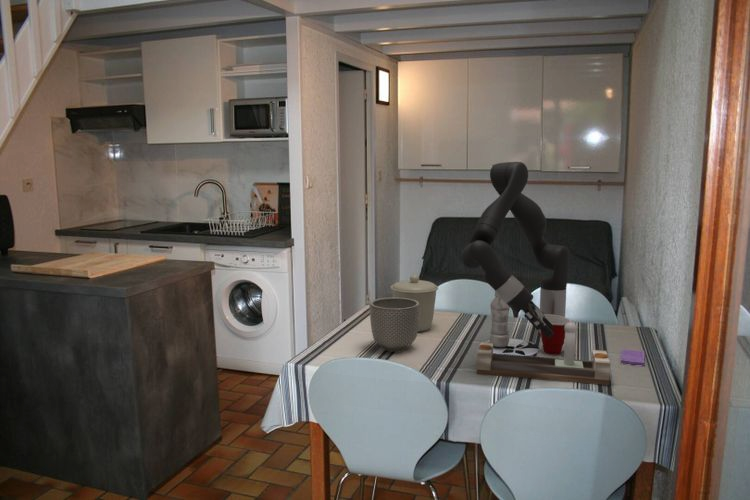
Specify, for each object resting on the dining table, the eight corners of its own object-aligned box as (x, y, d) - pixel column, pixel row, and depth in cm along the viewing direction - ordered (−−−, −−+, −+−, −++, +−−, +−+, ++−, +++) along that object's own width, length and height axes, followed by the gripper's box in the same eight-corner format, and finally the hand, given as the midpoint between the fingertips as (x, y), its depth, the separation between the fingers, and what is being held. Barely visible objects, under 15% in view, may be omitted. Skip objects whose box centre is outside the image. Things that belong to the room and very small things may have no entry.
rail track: (480, 361, 199) (480, 340, 198) (604, 371, 190) (606, 349, 189) (476, 373, 188) (477, 351, 187) (609, 385, 178) (610, 361, 177)
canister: (445, 326, 239) (446, 273, 236) (423, 338, 224) (424, 281, 221) (405, 320, 249) (405, 268, 246) (381, 330, 234) (381, 276, 231)
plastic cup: (564, 359, 200) (566, 323, 198) (532, 354, 206) (533, 319, 204) (573, 350, 209) (575, 316, 208) (542, 345, 215) (543, 312, 213)
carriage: (554, 364, 190) (556, 319, 188) (581, 366, 188) (584, 320, 186) (555, 371, 184) (557, 324, 182) (583, 374, 182) (585, 326, 180)
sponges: (620, 365, 196) (620, 359, 196) (621, 353, 208) (621, 348, 207) (644, 368, 194) (644, 362, 193) (644, 356, 205) (644, 350, 205)
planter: (382, 338, 225) (382, 295, 222) (427, 344, 217) (427, 300, 215) (361, 351, 209) (360, 305, 207) (407, 358, 202) (408, 311, 199)
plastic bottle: (509, 350, 210) (510, 292, 207) (489, 348, 212) (490, 292, 209) (508, 344, 217) (510, 288, 213) (489, 343, 218) (490, 288, 215)
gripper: (522, 290, 179) (562, 331, 178) (523, 280, 193) (560, 318, 192) (503, 307, 181) (542, 347, 180) (506, 296, 195) (542, 334, 194)
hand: (551, 332), depth 186 cm, fingers open, 8 cm apart
